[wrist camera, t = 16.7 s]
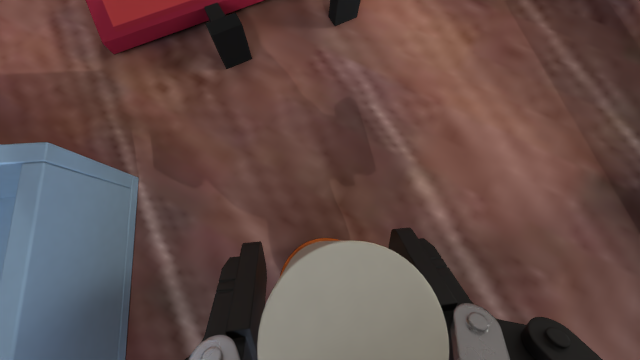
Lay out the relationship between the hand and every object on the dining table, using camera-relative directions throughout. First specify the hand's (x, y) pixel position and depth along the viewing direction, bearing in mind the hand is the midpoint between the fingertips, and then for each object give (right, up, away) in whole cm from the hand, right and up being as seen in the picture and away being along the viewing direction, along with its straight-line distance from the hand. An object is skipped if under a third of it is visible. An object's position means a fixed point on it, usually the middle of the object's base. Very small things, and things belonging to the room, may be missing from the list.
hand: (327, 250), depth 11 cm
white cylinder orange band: (0, -3, +3) cm, 4 cm away
